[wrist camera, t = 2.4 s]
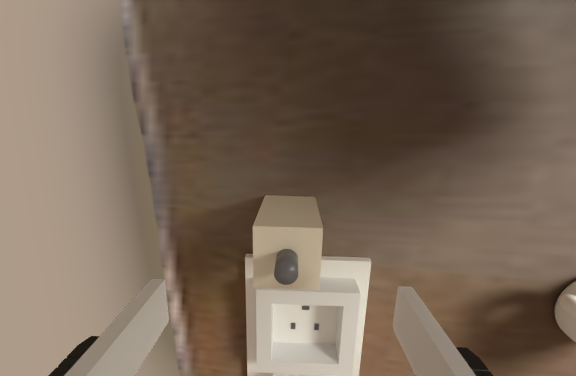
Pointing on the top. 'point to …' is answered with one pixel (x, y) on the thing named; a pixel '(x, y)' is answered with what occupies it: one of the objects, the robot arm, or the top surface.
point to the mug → (567, 311)
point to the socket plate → (308, 322)
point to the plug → (287, 243)
